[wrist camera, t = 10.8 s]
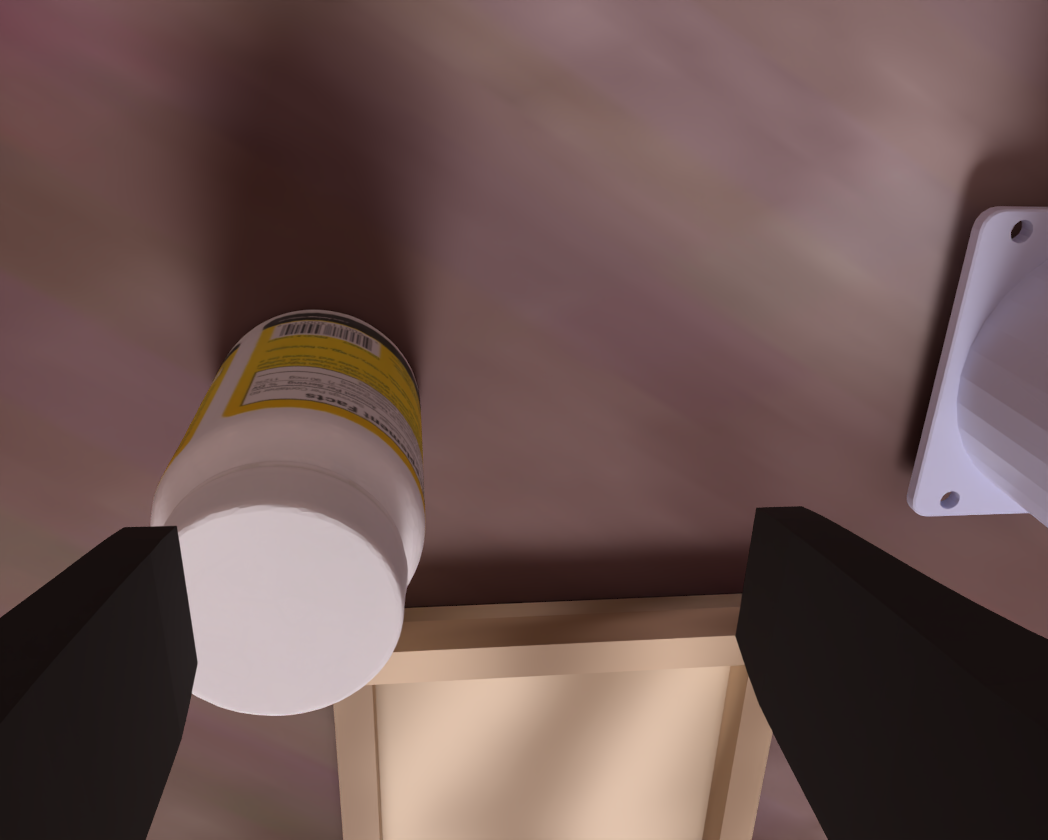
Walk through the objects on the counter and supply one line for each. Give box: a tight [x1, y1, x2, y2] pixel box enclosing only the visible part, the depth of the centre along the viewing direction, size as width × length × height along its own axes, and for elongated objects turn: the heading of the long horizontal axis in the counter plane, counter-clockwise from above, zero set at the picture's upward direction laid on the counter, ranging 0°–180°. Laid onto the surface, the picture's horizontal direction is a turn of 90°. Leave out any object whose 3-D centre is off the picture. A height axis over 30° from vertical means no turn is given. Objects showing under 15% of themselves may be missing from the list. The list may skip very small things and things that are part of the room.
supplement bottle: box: [151, 310, 425, 716], centre depth 17 cm, size 5×5×8 cm
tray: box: [333, 594, 772, 840], centre depth 26 cm, size 12×12×2 cm
